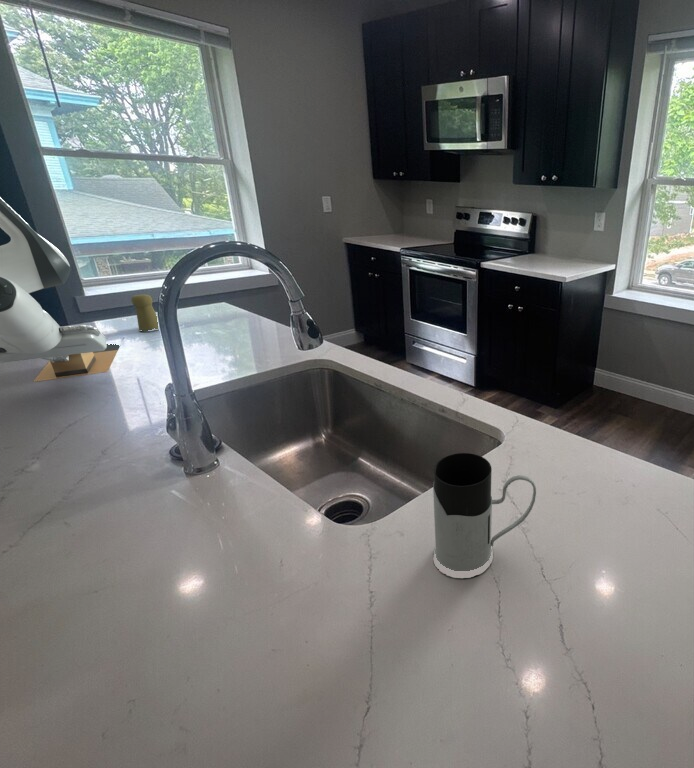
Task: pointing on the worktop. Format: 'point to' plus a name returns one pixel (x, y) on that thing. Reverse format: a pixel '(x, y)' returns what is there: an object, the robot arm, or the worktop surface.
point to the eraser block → (74, 364)
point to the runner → (99, 366)
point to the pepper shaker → (145, 312)
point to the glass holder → (466, 510)
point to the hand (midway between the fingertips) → (60, 358)
